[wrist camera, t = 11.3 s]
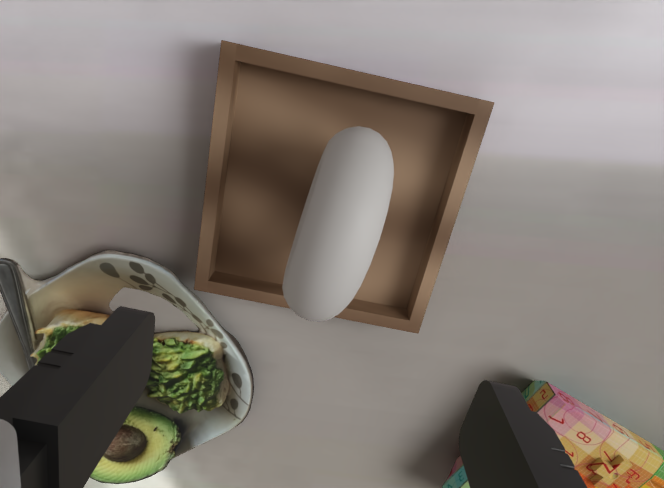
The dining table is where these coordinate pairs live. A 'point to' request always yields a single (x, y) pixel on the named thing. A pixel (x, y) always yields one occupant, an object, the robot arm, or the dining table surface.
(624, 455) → the puzzle game
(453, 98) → the display tray
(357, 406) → the dining table surface
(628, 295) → the dining table surface
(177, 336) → the salad plate
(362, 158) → the white ring
